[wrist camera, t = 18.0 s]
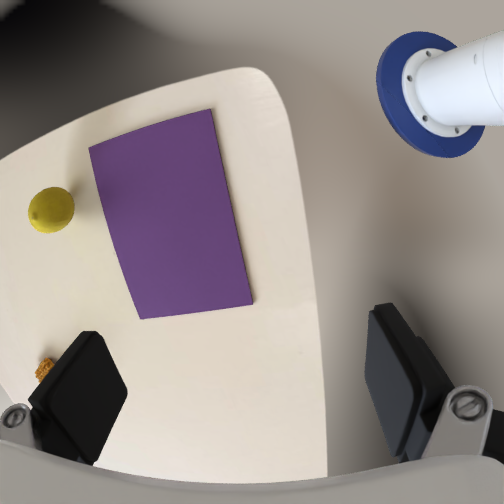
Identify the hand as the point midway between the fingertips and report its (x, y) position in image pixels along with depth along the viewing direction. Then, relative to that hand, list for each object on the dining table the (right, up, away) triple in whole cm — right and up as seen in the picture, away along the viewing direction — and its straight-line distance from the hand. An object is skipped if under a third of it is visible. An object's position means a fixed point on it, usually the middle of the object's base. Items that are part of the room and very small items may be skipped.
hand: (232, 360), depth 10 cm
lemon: (-24, +10, +25) cm, 36 cm away
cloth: (-9, +7, +26) cm, 28 cm away
